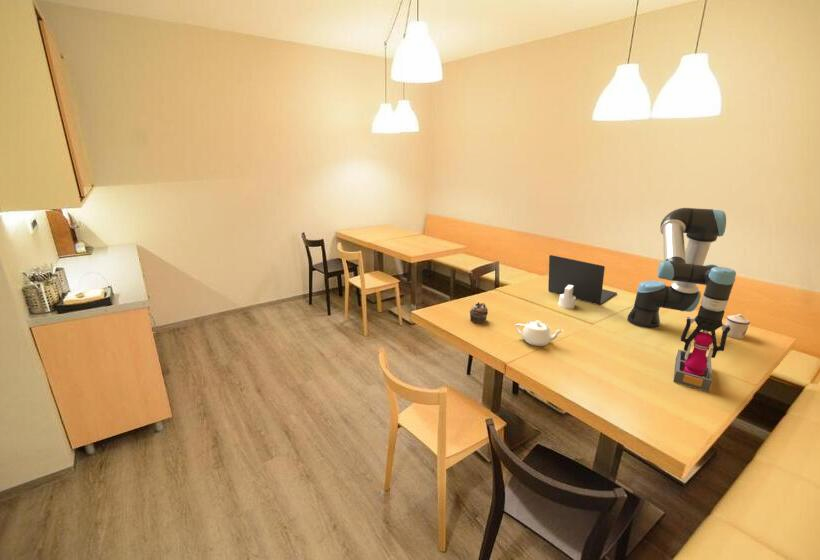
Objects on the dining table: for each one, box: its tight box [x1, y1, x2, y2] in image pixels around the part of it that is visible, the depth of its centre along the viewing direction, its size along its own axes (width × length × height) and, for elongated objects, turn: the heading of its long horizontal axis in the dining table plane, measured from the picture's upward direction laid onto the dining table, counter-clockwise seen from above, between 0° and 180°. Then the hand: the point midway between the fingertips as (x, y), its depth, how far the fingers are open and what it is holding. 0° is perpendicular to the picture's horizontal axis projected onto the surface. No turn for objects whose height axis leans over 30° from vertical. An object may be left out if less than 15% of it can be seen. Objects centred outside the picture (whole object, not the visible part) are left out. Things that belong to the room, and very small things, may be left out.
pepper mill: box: [684, 330, 713, 377], centre depth 149 cm, size 7×7×20 cm
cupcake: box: [469, 302, 488, 324], centre depth 203 cm, size 10×10×10 cm
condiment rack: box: [673, 349, 713, 393], centre depth 156 cm, size 12×22×5 cm, turn 144°
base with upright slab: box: [557, 285, 577, 310], centre depth 225 cm, size 9×9×12 cm
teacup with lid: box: [724, 313, 751, 340], centre depth 192 cm, size 12×9×12 cm
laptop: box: [547, 254, 618, 306], centre depth 243 cm, size 33×35×26 cm
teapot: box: [514, 320, 564, 347], centre depth 181 cm, size 22×14×11 cm, turn 65°
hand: (696, 361), depth 150 cm, fingers closed on pepper mill, 6 cm apart
